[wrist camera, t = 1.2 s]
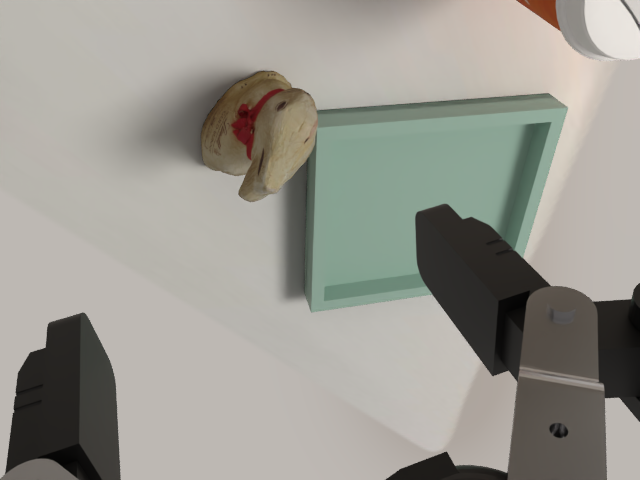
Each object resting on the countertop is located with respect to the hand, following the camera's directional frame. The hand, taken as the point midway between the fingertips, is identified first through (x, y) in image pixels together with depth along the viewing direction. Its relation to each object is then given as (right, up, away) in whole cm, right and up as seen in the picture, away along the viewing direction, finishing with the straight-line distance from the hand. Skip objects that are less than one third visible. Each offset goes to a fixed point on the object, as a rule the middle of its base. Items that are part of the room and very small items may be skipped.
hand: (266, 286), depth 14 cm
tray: (+9, +4, +32) cm, 34 cm away
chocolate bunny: (-3, +9, +25) cm, 27 cm away
